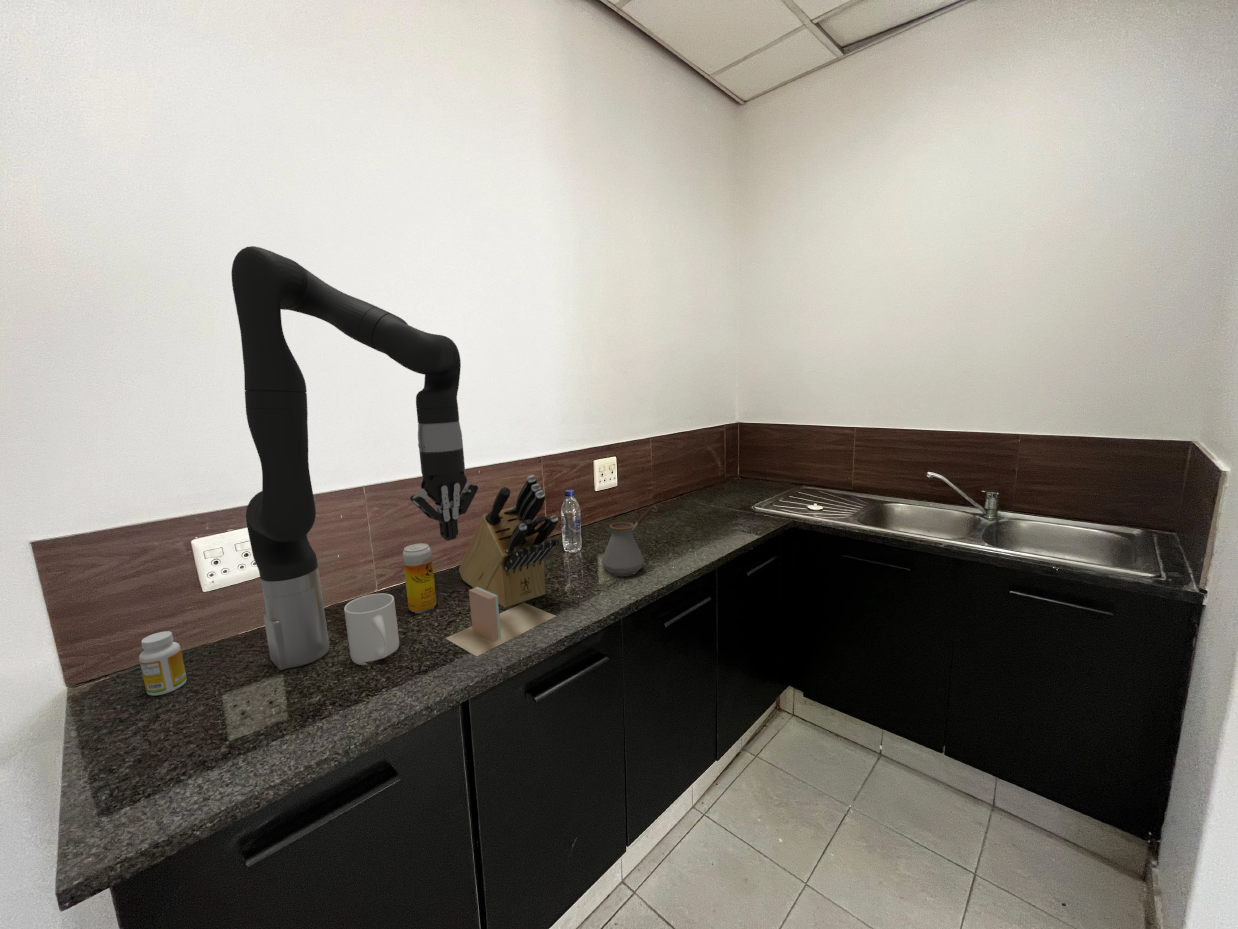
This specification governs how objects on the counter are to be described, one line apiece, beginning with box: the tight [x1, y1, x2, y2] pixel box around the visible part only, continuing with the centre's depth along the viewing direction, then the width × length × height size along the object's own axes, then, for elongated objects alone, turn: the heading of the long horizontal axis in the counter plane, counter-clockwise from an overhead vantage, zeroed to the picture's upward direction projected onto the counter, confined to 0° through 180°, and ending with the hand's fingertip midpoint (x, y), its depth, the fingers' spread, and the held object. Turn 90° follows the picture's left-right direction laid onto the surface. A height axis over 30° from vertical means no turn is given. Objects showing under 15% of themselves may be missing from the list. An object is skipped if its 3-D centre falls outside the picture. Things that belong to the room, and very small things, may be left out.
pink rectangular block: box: [468, 587, 501, 642], centre depth 100 cm, size 2×7×9 cm, turn 49°
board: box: [445, 602, 557, 657], centre depth 104 cm, size 20×11×1 cm, turn 139°
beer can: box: [402, 543, 437, 614], centre depth 115 cm, size 6×6×15 cm
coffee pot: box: [601, 504, 658, 577], centre depth 137 cm, size 21×12×15 cm, turn 142°
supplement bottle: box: [138, 630, 187, 696], centre depth 88 cm, size 5×5×10 cm
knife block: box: [458, 474, 560, 608], centre depth 120 cm, size 11×35×31 cm, turn 40°
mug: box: [343, 592, 400, 666], centre depth 95 cm, size 9×12×11 cm
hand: (450, 538), depth 93 cm, fingers closed
